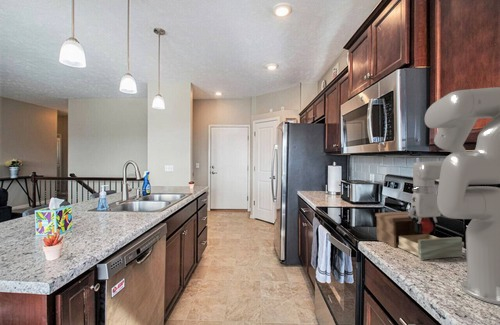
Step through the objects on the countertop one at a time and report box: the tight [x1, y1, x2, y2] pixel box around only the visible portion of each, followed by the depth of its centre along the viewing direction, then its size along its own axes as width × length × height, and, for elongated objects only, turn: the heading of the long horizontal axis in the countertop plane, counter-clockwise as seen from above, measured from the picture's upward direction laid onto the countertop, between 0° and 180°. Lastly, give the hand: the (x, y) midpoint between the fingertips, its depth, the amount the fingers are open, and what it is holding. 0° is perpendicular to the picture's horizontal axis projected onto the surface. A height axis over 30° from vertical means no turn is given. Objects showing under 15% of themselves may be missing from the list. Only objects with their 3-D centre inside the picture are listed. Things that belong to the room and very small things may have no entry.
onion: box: [420, 218, 433, 235], centre depth 104 cm, size 6×6×8 cm
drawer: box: [397, 233, 463, 261], centre depth 103 cm, size 15×19×8 cm
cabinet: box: [374, 210, 430, 249], centre depth 117 cm, size 12×19×14 cm
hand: (425, 231), depth 104 cm, fingers closed on onion, 5 cm apart
